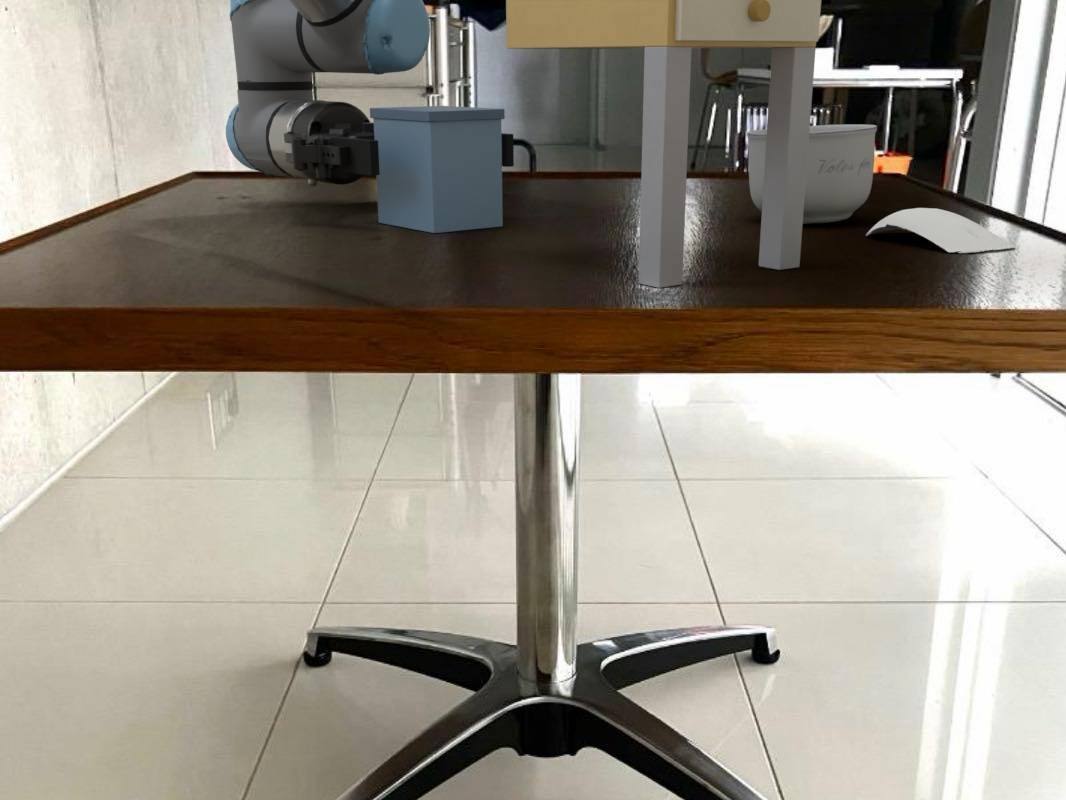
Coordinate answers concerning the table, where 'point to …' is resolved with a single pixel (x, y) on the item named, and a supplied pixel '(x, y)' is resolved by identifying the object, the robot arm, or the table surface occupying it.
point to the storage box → (439, 167)
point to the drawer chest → (667, 36)
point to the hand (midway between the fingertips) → (445, 154)
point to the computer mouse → (943, 230)
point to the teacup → (825, 170)
